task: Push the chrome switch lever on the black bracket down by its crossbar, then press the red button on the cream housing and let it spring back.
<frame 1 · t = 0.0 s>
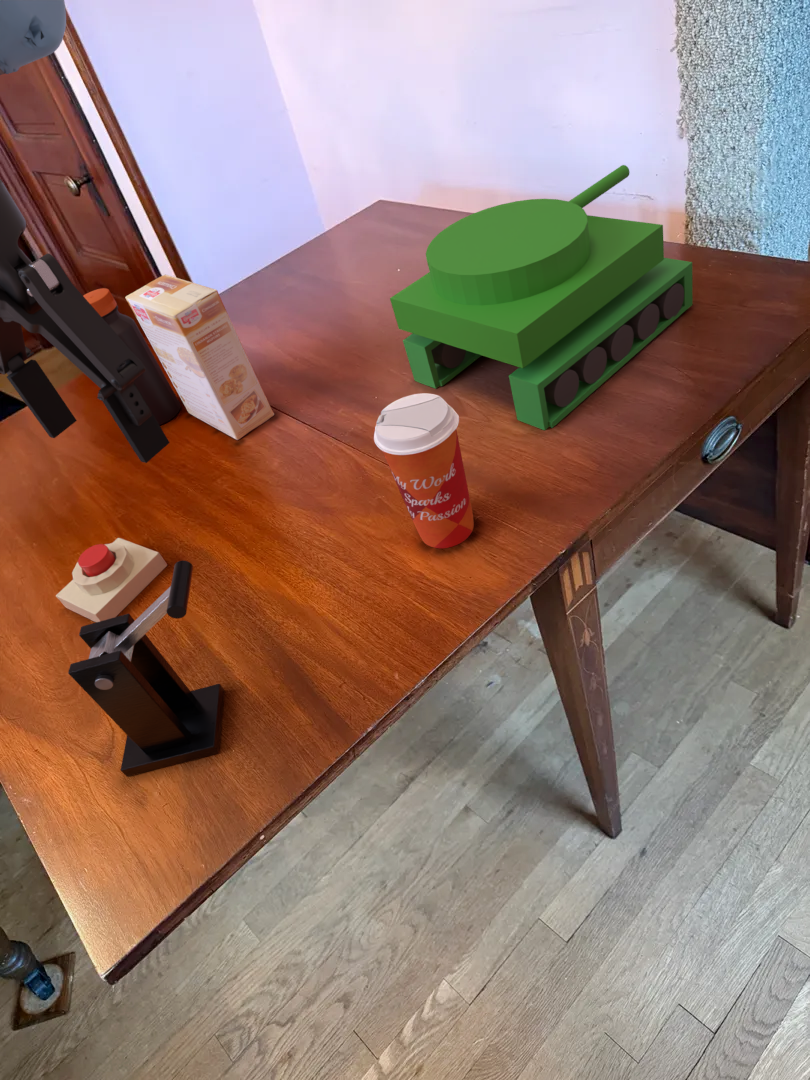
hand: (107, 440, 65), 23 cm above the table, tool pointing down, fingers open, 13 cm apart
switch lever: (141, 625, 60), point 14 cm above the table, hinge at 30.0°
coffee cup: (447, 530, 80), on the table
switch bracket: (177, 732, 70), on the table
tank: (563, 337, 102), on the table
bottle: (161, 415, 116), on the table
coffeecake box: (231, 415, 111), on the table
red button: (96, 560, 85), point 4 cm above the table, slide at 0.1 cm
button housing: (117, 586, 88), on the table
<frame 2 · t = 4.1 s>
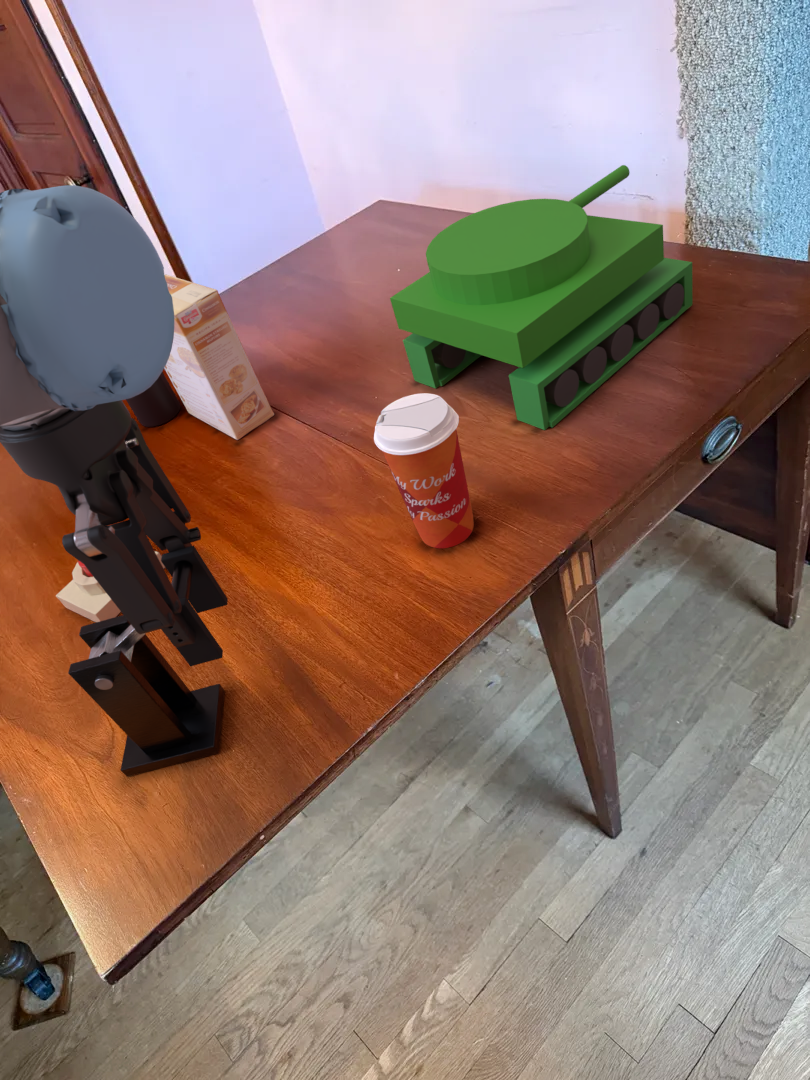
hand: (209, 630, 61), 12 cm above the table, tool pointing down, fingers closed on switch lever, 5 cm apart
switch lever: (141, 625, 60), point 14 cm above the table, hinge at 30.0°, touching gripper
everything else where it was.
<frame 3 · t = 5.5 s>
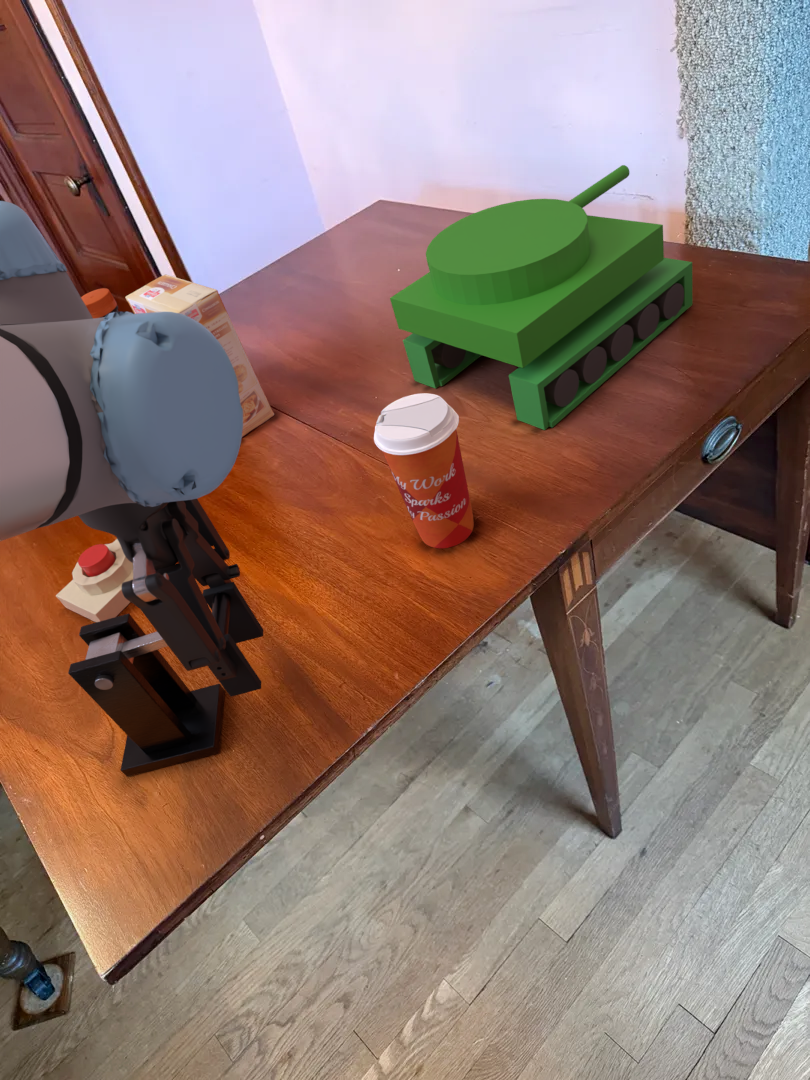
hand: (247, 661, 64), 7 cm above the table, tool pointing down, fingers closed on switch lever, 5 cm apart
switch lever: (161, 639, 61), point 12 cm above the table, hinge at 3.5°, touching gripper
everything else where it was.
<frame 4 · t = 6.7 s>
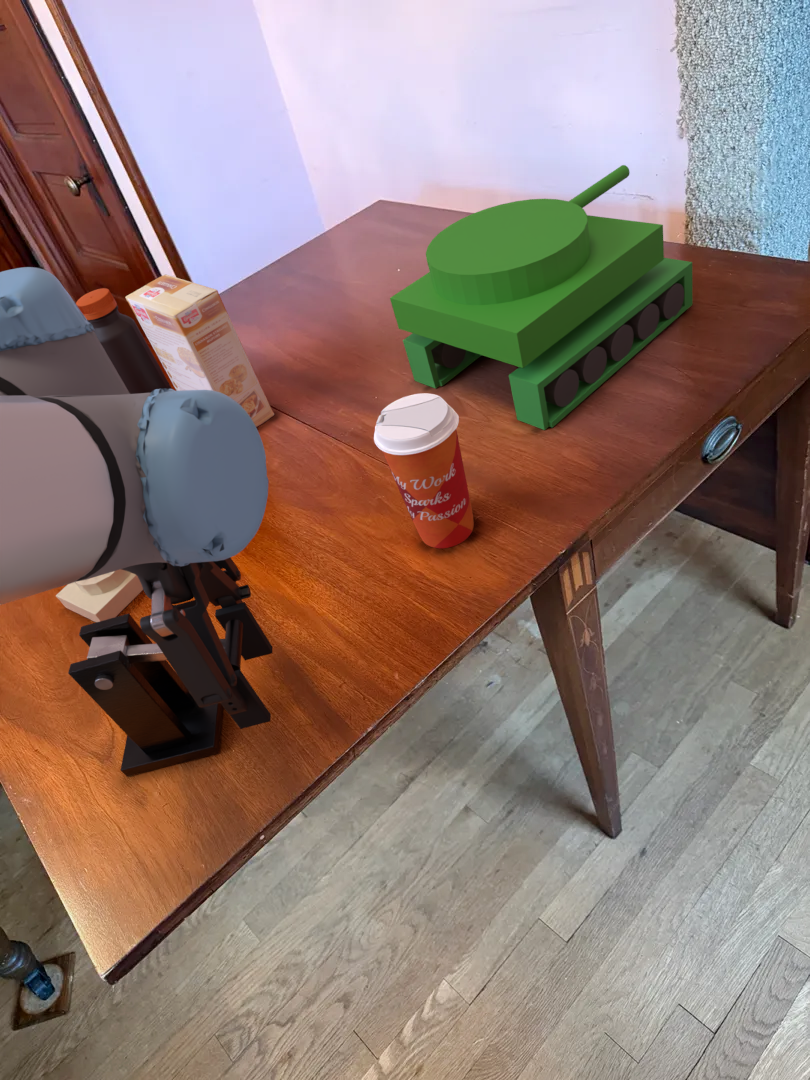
hand: (257, 686, 67), 4 cm above the table, tool pointing down, fingers open, 7 cm apart
switch lever: (168, 651, 62), point 11 cm above the table, hinge at -16.1°
everything else where it was.
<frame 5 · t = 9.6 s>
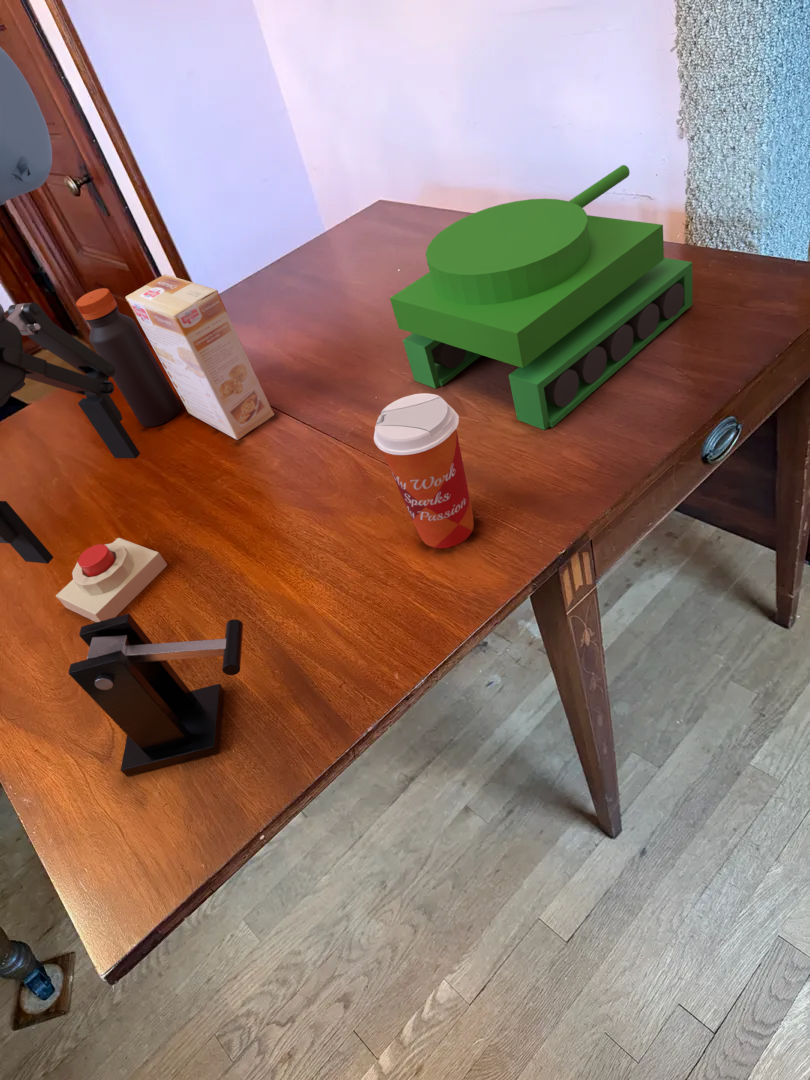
hand: (86, 504, 68), 18 cm above the table, tool pointing down, fingers open, 13 cm apart
nothing on the table moved.
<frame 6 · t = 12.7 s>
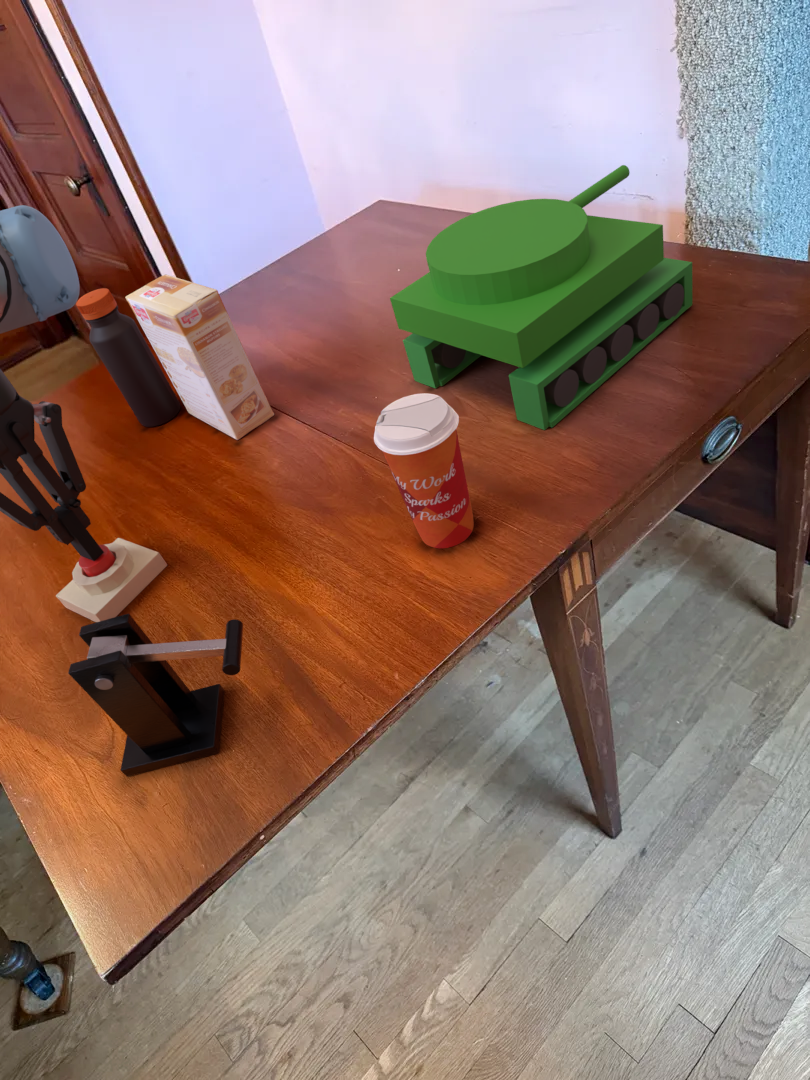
hand: (92, 553, 85), 5 cm above the table, tool pointing down, fingers closed
red button: (97, 561, 85), point 4 cm above the table, slide at 0.0 cm, touching gripper
everything else where it was.
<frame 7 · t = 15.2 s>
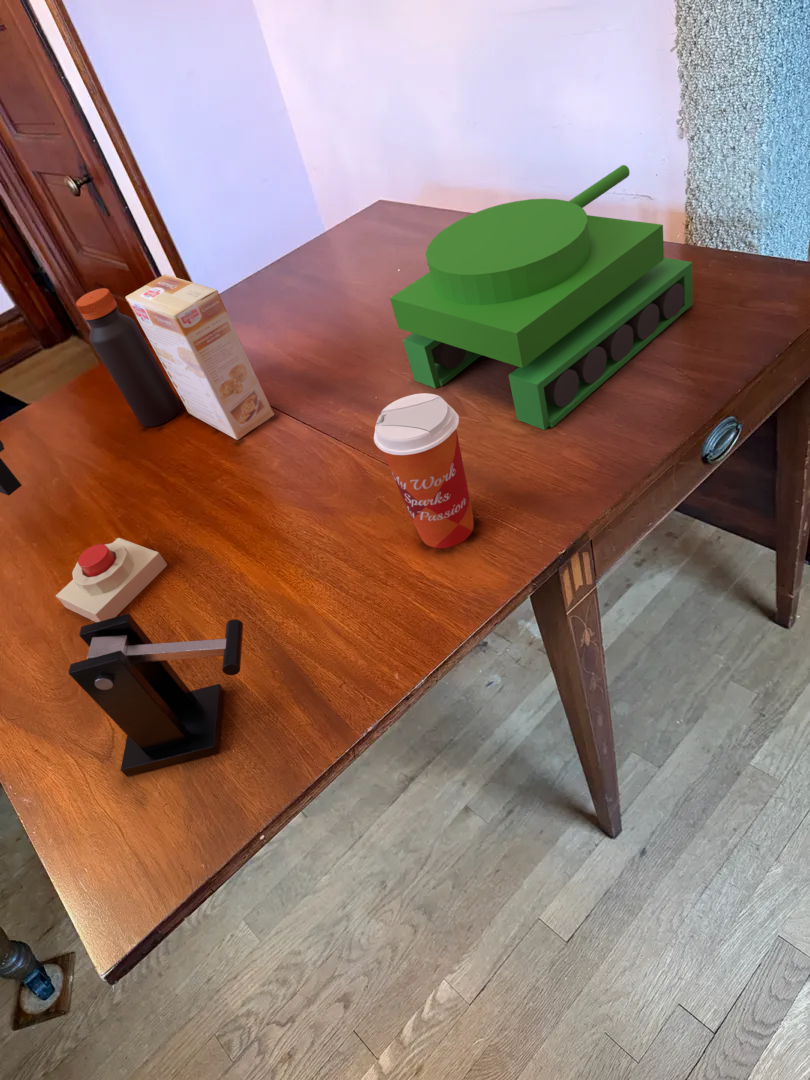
hand: (7, 487, 69), 21 cm above the table, tool pointing down, fingers closed
red button: (96, 560, 85), point 4 cm above the table, slide at 0.1 cm
everything else where it was.
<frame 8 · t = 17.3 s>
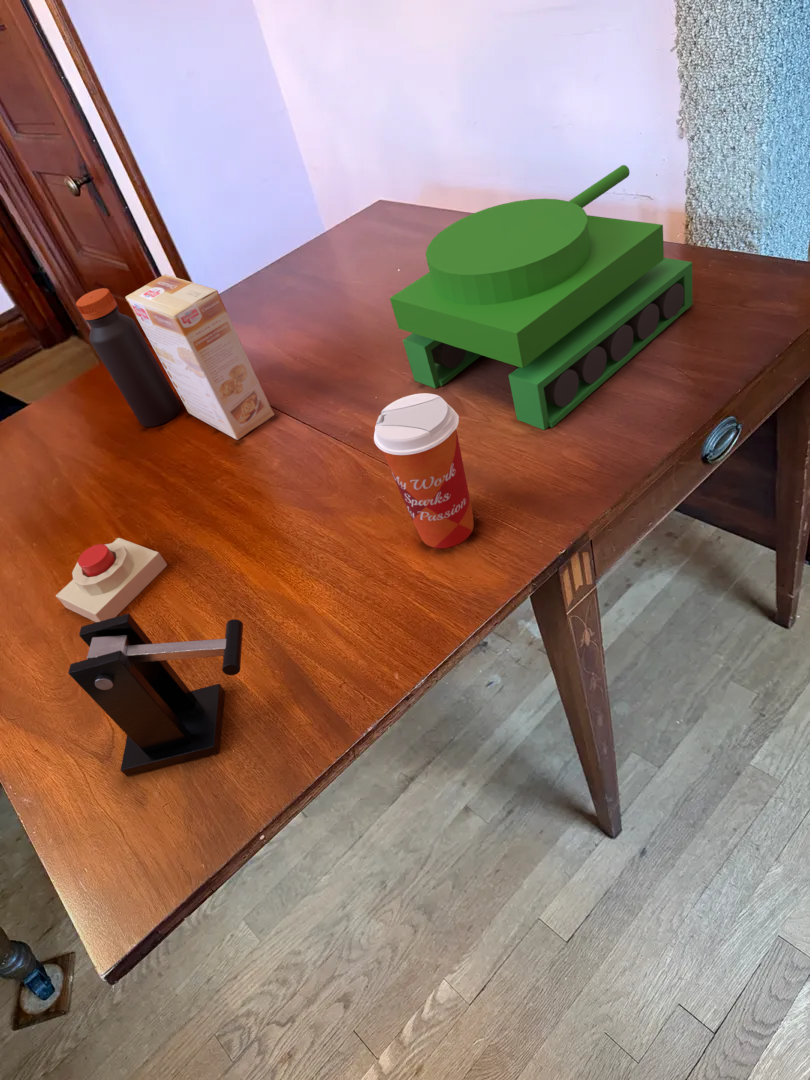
nothing on the table moved.
at the end: switch lever at -16° (first picture: +30°); red button pushed in 1.0 cm at the most during the clip, back to where it started at the end; red button slide at 0.1 cm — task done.
